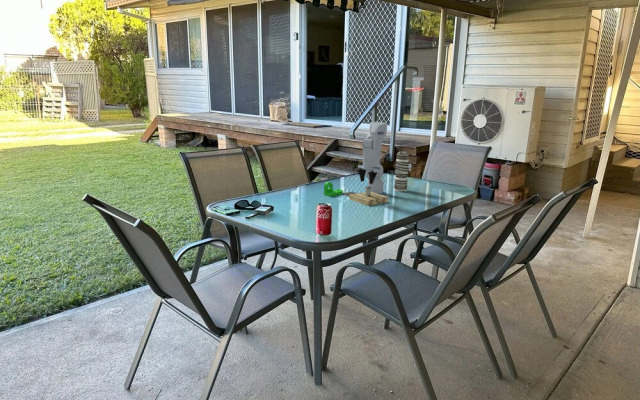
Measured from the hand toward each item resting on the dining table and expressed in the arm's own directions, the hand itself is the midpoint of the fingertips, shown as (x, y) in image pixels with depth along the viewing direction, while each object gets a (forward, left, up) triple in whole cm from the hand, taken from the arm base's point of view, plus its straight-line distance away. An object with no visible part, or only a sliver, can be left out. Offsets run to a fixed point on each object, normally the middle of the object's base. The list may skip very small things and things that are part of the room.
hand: (366, 182), depth 251 cm
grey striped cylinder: (-36, -7, -11) cm, 39 cm away
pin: (+1, +3, -10) cm, 11 cm away
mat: (0, -14, -10) cm, 17 cm away
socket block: (+1, +3, -10) cm, 11 cm away
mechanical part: (+9, -19, -10) cm, 23 cm away
